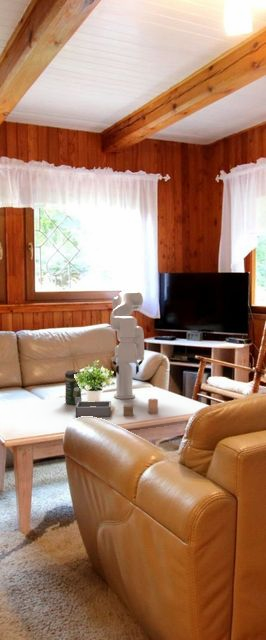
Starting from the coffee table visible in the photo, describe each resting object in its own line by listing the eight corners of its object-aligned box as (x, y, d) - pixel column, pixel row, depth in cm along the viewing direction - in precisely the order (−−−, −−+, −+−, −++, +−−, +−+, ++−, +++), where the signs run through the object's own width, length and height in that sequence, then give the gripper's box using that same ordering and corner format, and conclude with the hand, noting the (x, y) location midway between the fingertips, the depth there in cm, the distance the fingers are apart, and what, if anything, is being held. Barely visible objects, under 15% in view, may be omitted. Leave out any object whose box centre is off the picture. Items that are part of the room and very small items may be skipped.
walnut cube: (123, 413, 278) (123, 404, 278) (133, 413, 278) (133, 404, 278) (123, 416, 273) (123, 406, 273) (133, 416, 273) (133, 406, 273)
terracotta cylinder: (148, 411, 282) (148, 398, 282) (157, 411, 283) (157, 398, 282) (148, 414, 277) (148, 400, 277) (158, 414, 278) (158, 400, 277)
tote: (78, 410, 285) (78, 401, 285) (111, 410, 285) (110, 401, 285) (75, 417, 272) (75, 407, 271) (110, 416, 272) (110, 407, 272)
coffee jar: (63, 402, 304) (62, 370, 303) (76, 400, 308) (75, 369, 307) (70, 405, 296) (70, 372, 295) (83, 404, 300) (83, 371, 299)
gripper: (143, 340, 280) (143, 372, 281) (110, 340, 280) (111, 373, 281) (144, 341, 273) (144, 374, 273) (110, 341, 273) (110, 374, 273)
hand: (127, 373), depth 277 cm, fingers open, 9 cm apart
